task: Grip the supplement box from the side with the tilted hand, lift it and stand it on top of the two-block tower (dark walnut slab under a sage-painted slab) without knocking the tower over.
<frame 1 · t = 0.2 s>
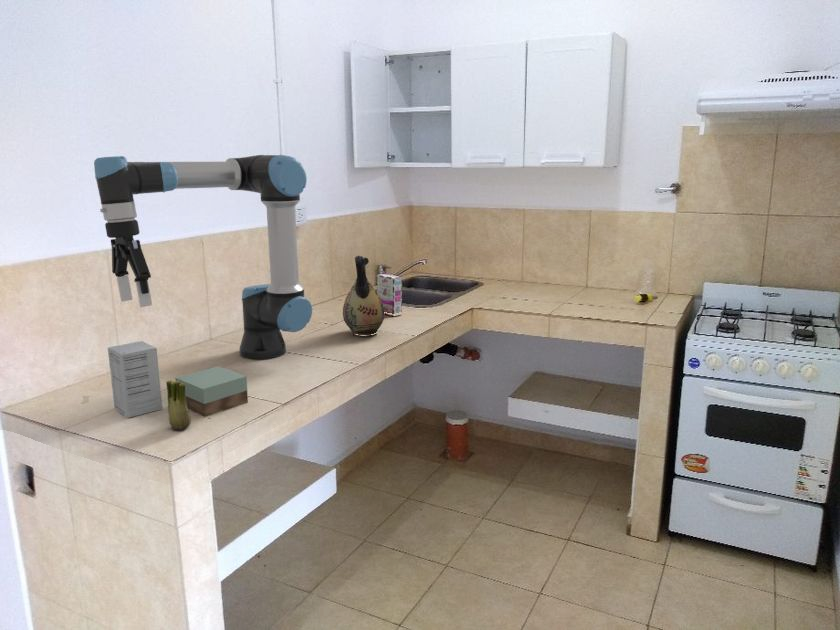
hand: (136, 303, 166), 27 cm above the counter, tool pointing down, fingers open, 13 cm apart
ceramic jug: (363, 335, 242), on the counter
supplement box: (138, 409, 169), on the counter
tower top: (212, 391, 173), point 3 cm above the counter, touching tower base
candy bar box: (389, 314, 273), on the counter
fennel bulb: (180, 428, 158), on the counter
tower base: (213, 405, 174), on the counter, touching tower top
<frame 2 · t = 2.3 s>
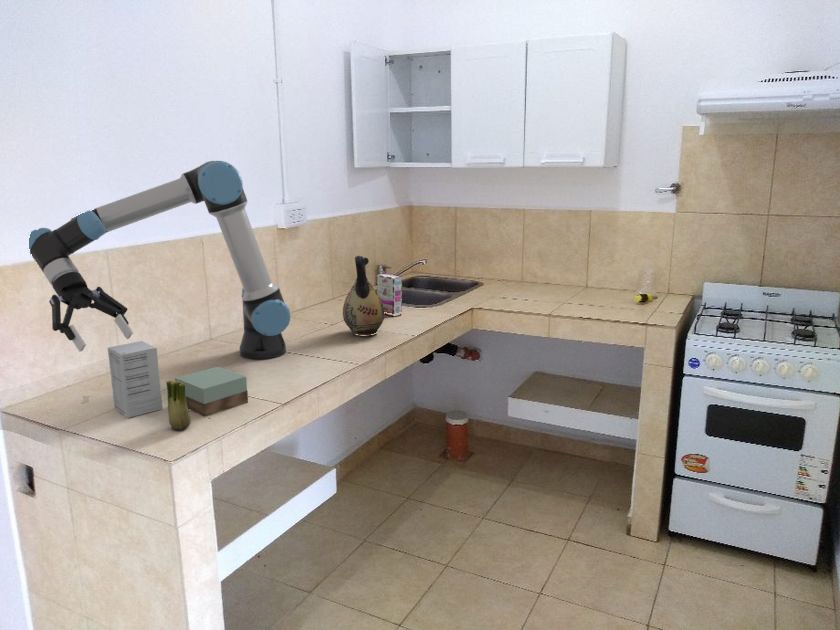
hand: (107, 342, 169), 17 cm above the counter, tool tilted 45°, fingers open, 13 cm apart
nothing on the counter moved.
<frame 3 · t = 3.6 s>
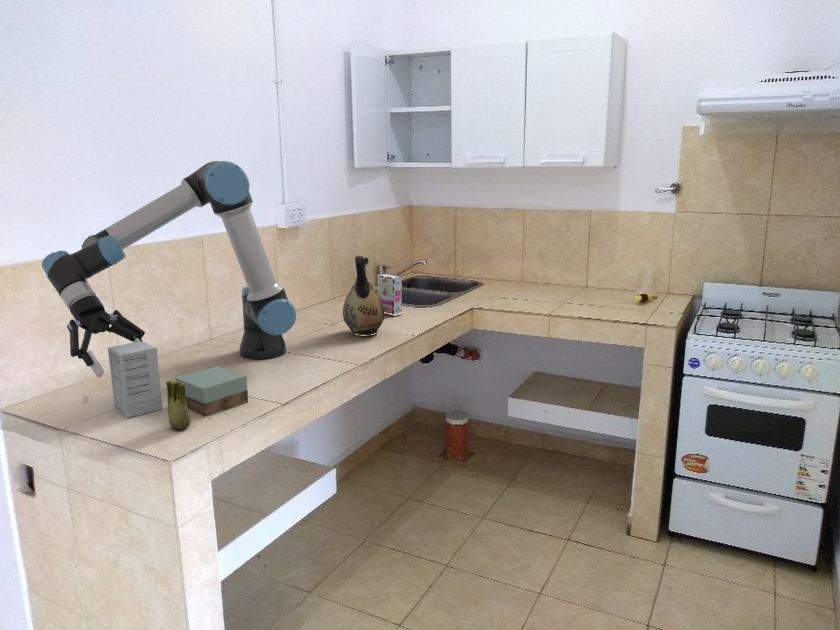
hand: (125, 367, 167), 11 cm above the counter, tool tilted 45°, fingers open, 13 cm apart
nothing on the counter moved.
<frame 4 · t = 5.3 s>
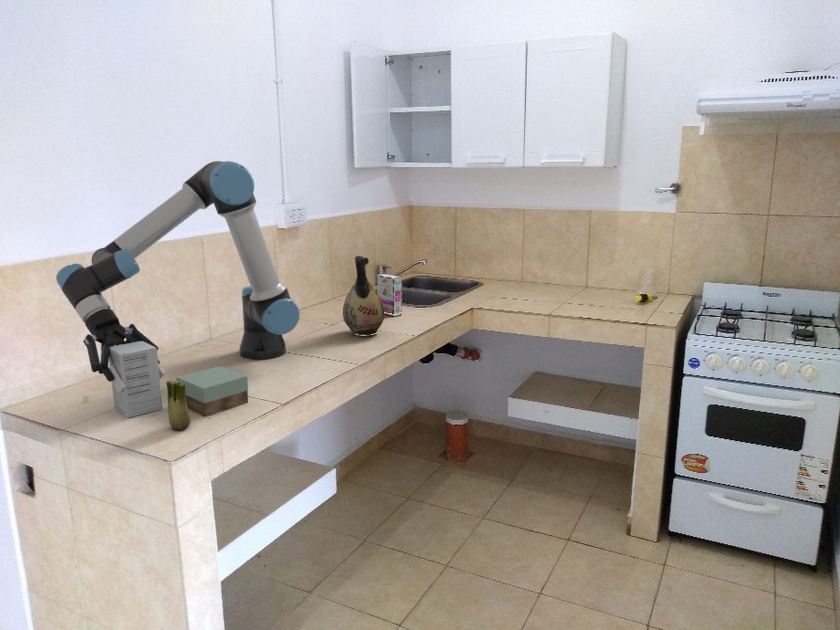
hand: (142, 382, 166), 8 cm above the counter, tool tilted 45°, fingers closed on supplement box, 11 cm apart
supplement box: (138, 409, 169), on the counter, touching gripper
everything else where it was.
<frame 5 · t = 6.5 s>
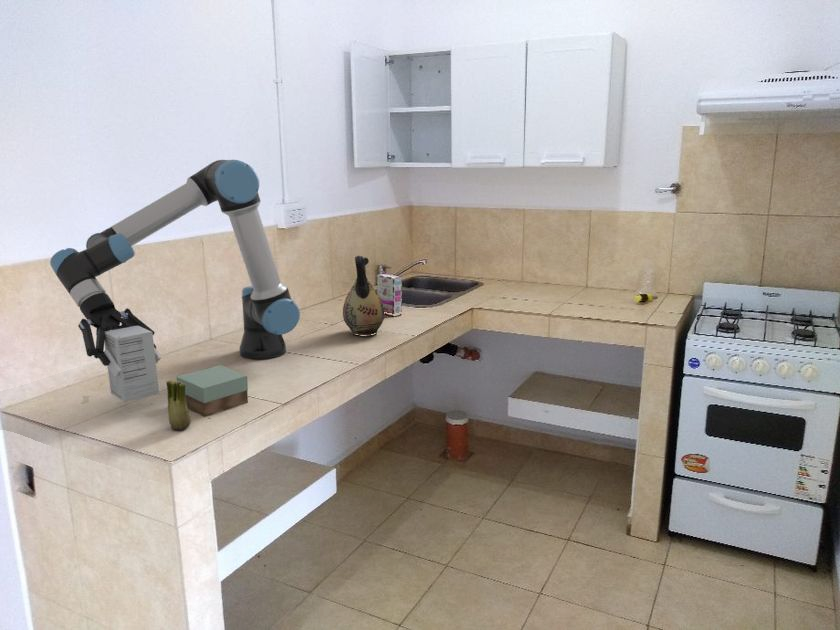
hand: (138, 367, 165), 12 cm above the counter, tool tilted 45°, fingers closed on supplement box, 11 cm apart
supplement box: (135, 394, 168), point 4 cm above the counter, touching gripper
everything else where it was.
when the fingers open (17 cm above the counter, at t = 12.0 s): supplement box drops 2 cm, resting on tower top.
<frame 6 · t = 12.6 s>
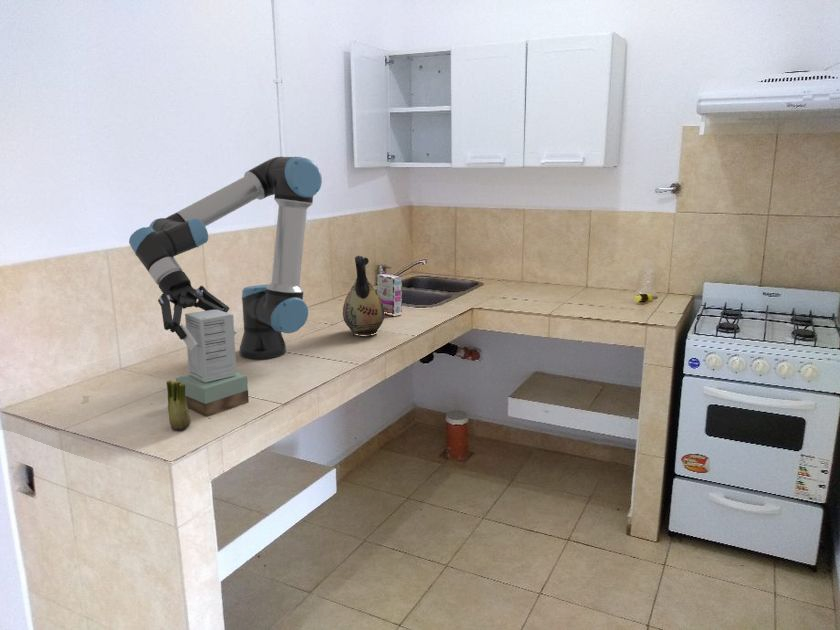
hand: (214, 341, 168), 18 cm above the counter, tool tilted 45°, fingers open, 13 cm apart
supplement box: (212, 376, 172), point 7 cm above the counter, touching gripper, tower top
tower top: (212, 390, 172), point 4 cm above the counter, touching supplement box, tower base
everything else where it was.
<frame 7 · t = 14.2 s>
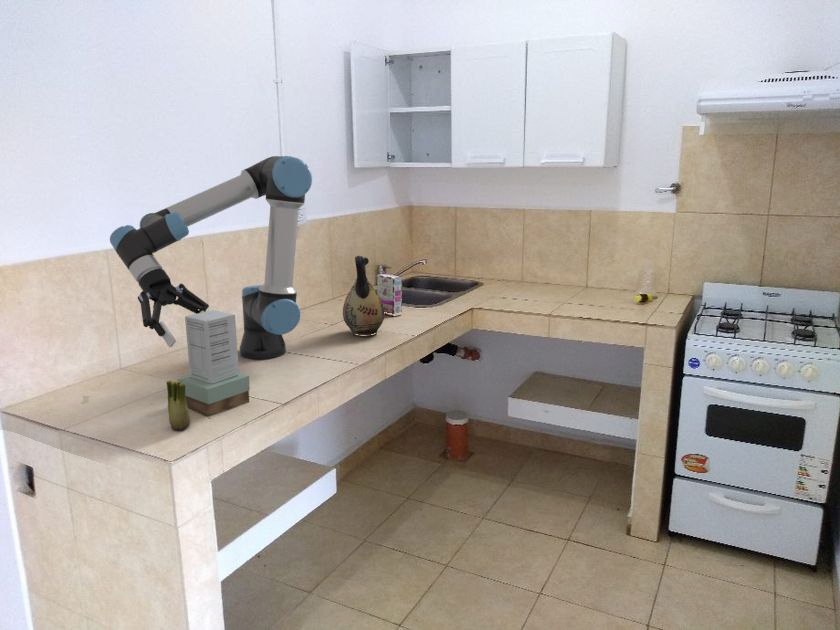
hand: (193, 338, 171), 17 cm above the counter, tool tilted 45°, fingers open, 13 cm apart
supplement box: (214, 376, 172), point 7 cm above the counter, touching tower top
tower top: (214, 391, 172), point 3 cm above the counter, touching supplement box
tower base: (214, 405, 174), on the counter
everything else where it was.
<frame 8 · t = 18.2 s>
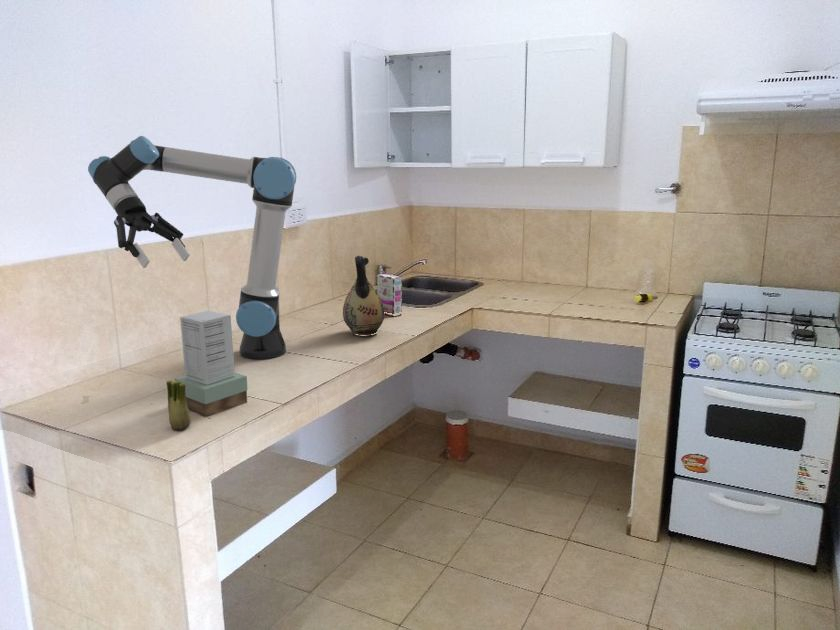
hand: (167, 261, 180), 36 cm above the counter, tool tilted 45°, fingers open, 13 cm apart
supplement box: (210, 378, 171), point 7 cm above the counter, touching tower top
tower top: (212, 391, 172), point 4 cm above the counter, touching supplement box, tower base
tower base: (212, 405, 173), on the counter, touching tower top
everything else where it was.
at the end: supplement box inside the target area on the tower top (0.2 cm from its centre), point 3.8 cm above the tower top's base; supplement box tilted 0°; tower top moved 0.8 cm from its start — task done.
